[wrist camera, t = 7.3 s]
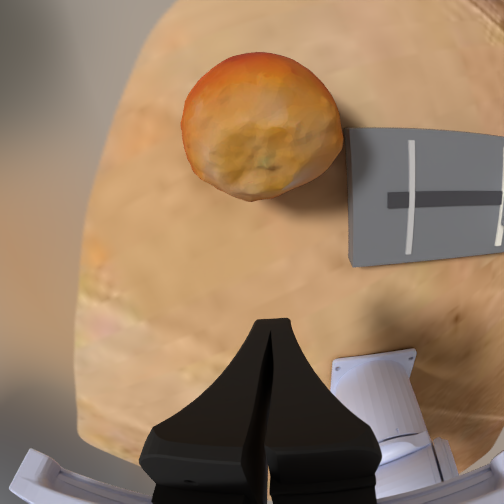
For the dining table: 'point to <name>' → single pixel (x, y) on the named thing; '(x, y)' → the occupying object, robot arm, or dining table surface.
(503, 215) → the fader cap
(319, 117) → the fruit
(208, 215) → the dining table surface
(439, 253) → the board
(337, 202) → the dining table surface
